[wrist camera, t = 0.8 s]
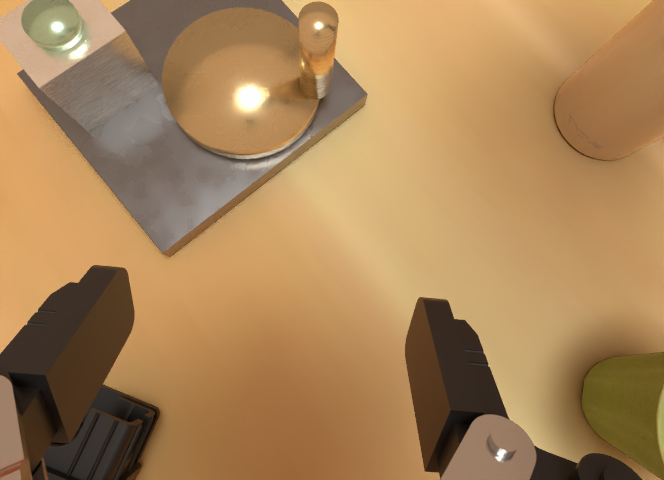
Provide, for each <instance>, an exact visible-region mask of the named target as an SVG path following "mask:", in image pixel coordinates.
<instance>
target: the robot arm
mask: <svg viewBox="0 0 664 480" xmlns="http://www.w3.org/2000/svg"><path fill="white" fill-rule="evenodd" d="M554 112H555V119H556V122H557V125H558V128H559V129H560V131H561V133H562V135H563V136H564V138H565V139H566V140H567V141H568V143H569V144H571V145H572V146H573V147H574V148H575V149H576V150H578V151H580V152H581V153H583V154H585V155H587V156H590V157H592V158H595V159H602V160H615V159H619V158H622V157H625V156H627V155H629V154H631V153H633V152H635V151H637V150H639V149H641V148H643V147H645V146H647V145H649V144H651V143H652V142H654V141H656V140H659V139H661V138H663V137H664V0H653V1H652V2H651V3H650V4H649V5H648V6H647V7H646V8H645V9H643V10H642V11H641V12H640V13H639V14H638V15H637V16H636V17H635V18H634V19H633V20H632V21H630V22H629V23H628V24H627V25H626V26H625V27H624V28H623V29H622V30H621V31H620V32H619V33H617V34H616V35H615V36H614V37H613V38H612V39H611V40H610V41H609V42H608V43H607V44H606V45H604V46H603V47H602V48H601V49H600V50H599V51H598V52H597V53H596V54H595V55H593V56H592V57H591V58H590V59H589V60H588V61H587V62H586V63H585V64H584V65H583V66H581V67H580V68H579V69H578V70H577V71H576V72H575V73H574V74H573V75H572V76H571V77H570V78H568V79H567V80H566V81H565V82H564V83H563V85H562V86H561V87H560V89H559V91H558V93H557V96H556V98H555V105H554ZM133 323H134V306H133V300H132V295H131V289H130V283H129V277H128V273H127V270H126V269H125V268H120V267H110V266H100V265H94V266H92V267H91V268H90V269H89V270H88V271H87V273H86V274H85V275H84V276H83V278H82V279H81V280H80V282H79V283H72V282H70V283H68V284H66V285H65V286H63V287H62V288H60V289H59V290H57V291H55V292H54V293H52V294H51V295H50V296H49V297H48V298H47V299H46V301H45V302H44V303H43V304H42V305H41V307H40V308H39V309H38V312H37V313H35V314H34V315H33V316H32V317H31V318H30V320H29V321H28V324H27V325H25V326H24V327H23V328H22V329H21V330H20V331H19V333H18V334H17V335H16V336H15V337H14V339H13V340H12V341H11V342H10V343H9V344H8V346H7V347H6V348H5V349H4V350H3V352H2V353H1V354H0V480H48V476H47V471H46V466H45V462H44V459H43V455H44V454H45V452H46V450H47V448H48V447H49V445H50V443H51V442H54V443H68V444H70V443H71V441H72V439H73V437H74V436H75V434H76V432H77V430H78V428H79V426H80V425H81V423H82V421H83V419H84V417H85V415H86V414H87V412H88V410H89V408H90V406H91V404H92V403H93V401H94V399H95V397H96V395H97V393H98V392H99V390H100V388H101V386H102V384H103V382H104V381H105V379H106V377H107V375H108V373H109V372H110V370H111V368H112V366H113V364H114V362H115V361H116V359H117V357H118V355H119V353H120V351H121V350H122V348H123V346H124V344H125V342H126V340H127V339H128V337H129V335H130V333H131V330H132V327H133ZM405 358H406V364H407V370H408V376H409V382H410V387H411V393H412V399H413V405H414V411H415V417H416V423H417V428H418V434H419V440H420V446H421V452H422V458H423V463H424V469H425V471H426V472H439V474H440V480H642V479H641V478H640V477H639V476H638V475H637V474H636V473H635V472H634V471H633V470H632V469H631V468H630V467H628V466H627V465H625V464H624V463H622V462H621V461H619V460H617V459H615V458H613V457H611V456H608V455H605V454H599V453H593V454H588V455H586V456H584V457H583V458H582V459H581V460H580V462H579V463H575V462H572V461H570V460H567V459H564V458H562V457H559V456H556V455H554V454H551V453H549V452H546V451H544V450H541V449H539V448H538V447H536V446H534V444H533V442H532V441H531V439H530V437H529V436H528V435H527V433H526V432H525V431H524V430H523V429H522V428H521V427H519V426H518V425H517V424H516V423H514V422H513V421H511V420H509V418H508V415H507V413H506V410H505V407H504V405H503V402H502V399H501V397H500V394H499V391H498V388H497V386H496V383H495V380H494V378H493V375H492V372H491V370H490V367H488V362H487V359H486V356H485V354H483V348H482V345H481V343H480V340H479V337H478V335H477V334H476V332H475V331H474V330H473V329H472V328H471V327H470V325H469V324H468V323H467V322H466V321H465V320H458V319H454V317H453V314H452V311H451V308H450V305H449V302H448V301H447V300H445V299H434V298H424V297H420V298H419V299H418V300H417V303H416V306H415V310H414V313H413V317H412V320H411V324H410V327H409V330H408V334H407V338H406V345H405Z"/></svg>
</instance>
